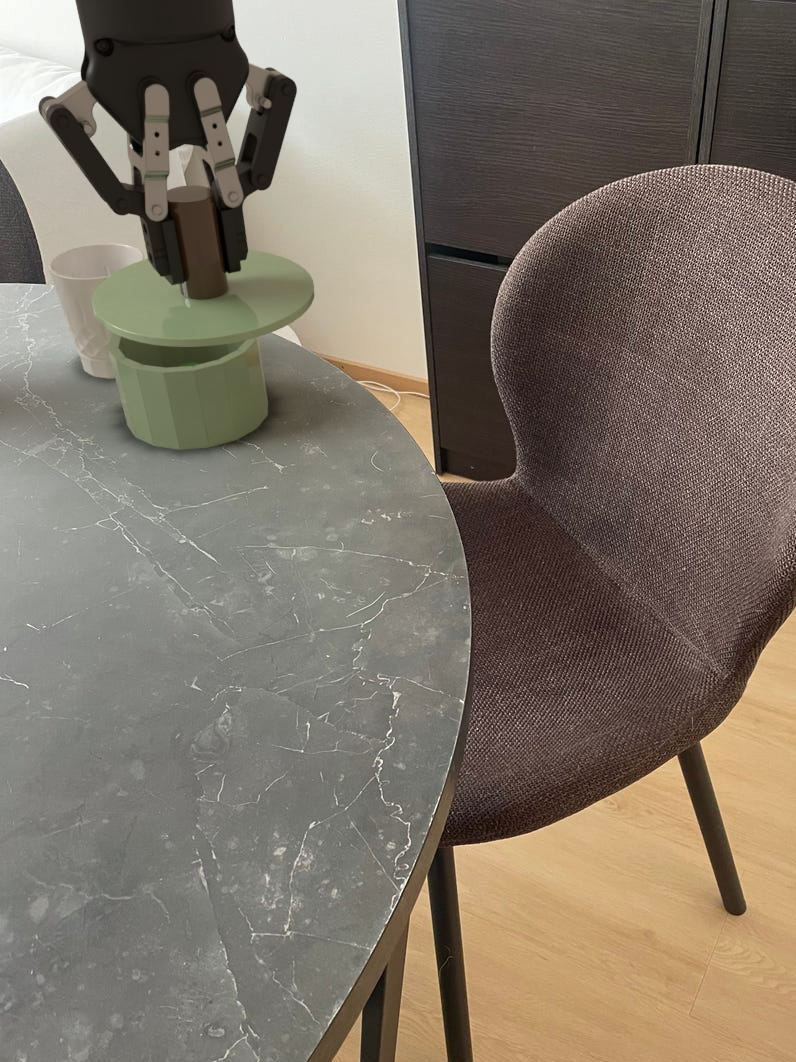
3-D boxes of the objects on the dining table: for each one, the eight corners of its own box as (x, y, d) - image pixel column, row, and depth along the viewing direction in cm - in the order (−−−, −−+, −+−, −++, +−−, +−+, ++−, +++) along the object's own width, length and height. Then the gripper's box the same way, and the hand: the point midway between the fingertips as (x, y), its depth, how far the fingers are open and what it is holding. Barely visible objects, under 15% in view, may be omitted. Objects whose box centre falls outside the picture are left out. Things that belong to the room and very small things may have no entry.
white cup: (184, 366, 96) (162, 259, 89) (110, 397, 91) (81, 287, 85) (134, 340, 100) (110, 235, 93) (61, 369, 95) (30, 261, 89)
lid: (53, 341, 59) (20, 222, 54) (160, 255, 68) (139, 148, 63) (265, 370, 56) (248, 249, 52) (345, 277, 66) (337, 168, 61)
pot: (104, 446, 85) (81, 361, 80) (168, 380, 94) (151, 300, 89) (235, 464, 83) (220, 379, 78) (289, 396, 92) (278, 315, 87)
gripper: (251, -102, 54) (288, 231, 66) (-31, -86, 49) (63, 274, 60) (309, -83, 50) (338, 273, 61) (4, -62, 44) (99, 324, 56)
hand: (201, 272), depth 61 cm, fingers closed on lid, 3 cm apart
